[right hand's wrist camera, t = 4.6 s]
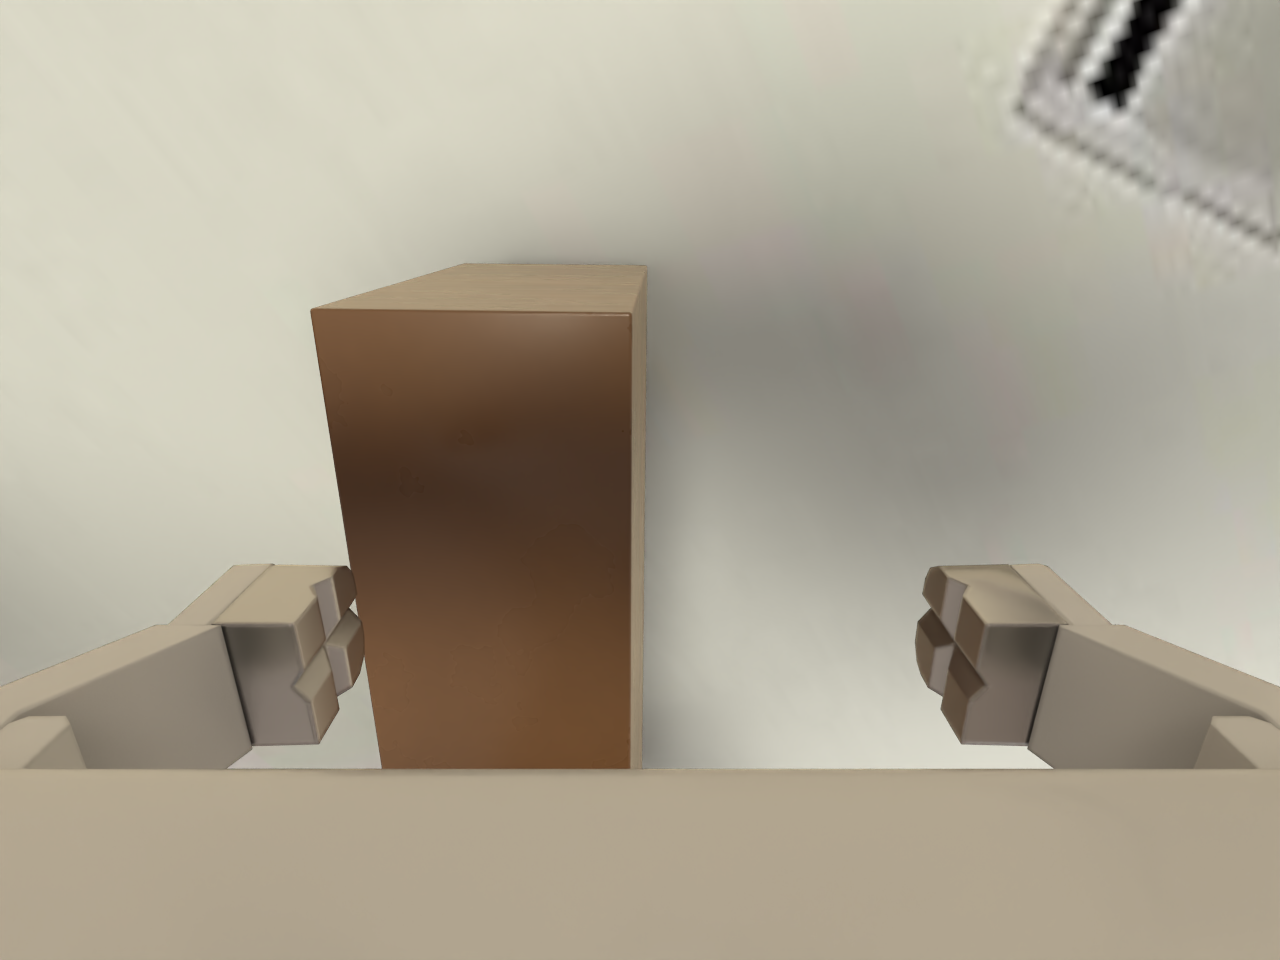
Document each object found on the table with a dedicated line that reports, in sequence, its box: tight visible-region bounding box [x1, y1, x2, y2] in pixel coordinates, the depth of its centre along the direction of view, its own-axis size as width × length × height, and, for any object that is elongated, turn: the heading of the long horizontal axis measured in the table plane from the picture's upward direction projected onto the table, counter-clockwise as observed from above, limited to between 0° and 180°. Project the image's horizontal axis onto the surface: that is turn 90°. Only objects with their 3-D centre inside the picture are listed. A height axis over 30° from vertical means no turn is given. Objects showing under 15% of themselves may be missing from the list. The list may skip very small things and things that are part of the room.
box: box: [310, 263, 647, 769], centre depth 23 cm, size 27×6×11 cm, turn 0°
